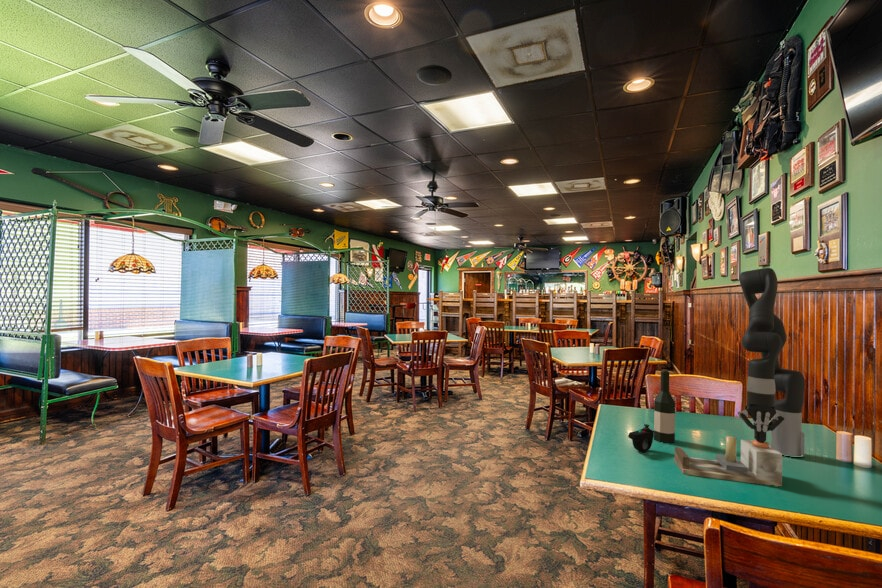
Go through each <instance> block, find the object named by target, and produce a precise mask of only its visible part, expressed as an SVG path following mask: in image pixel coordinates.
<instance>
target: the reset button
mask: <svg viewBox="0 0 882 588" xmlns="http://www.w3.org/2000/svg"><path fill="white" fill-rule="evenodd" d="M752 445H753V446H755V447H759V448H765V449H767V448H769V445H770V443H769V442H768V441H764V443H759V442H758V441H756V439H752Z"/></svg>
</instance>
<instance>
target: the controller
mask: <svg viewBox="0 0 882 588" xmlns="http://www.w3.org/2000/svg"><path fill="white" fill-rule="evenodd" d="M627 438H628V439H630V440H632V445H633V448H634V449H635V450H637V451H638V452H641V453H646V452H648V451H649V450H650V449H651V447H652V445H653V440H654V429H651V428H650V424H646V423H645V424H644V423H643V427H642V428H640V429H638V430H635V431H631V432H629V433H628V435H627Z"/></svg>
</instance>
